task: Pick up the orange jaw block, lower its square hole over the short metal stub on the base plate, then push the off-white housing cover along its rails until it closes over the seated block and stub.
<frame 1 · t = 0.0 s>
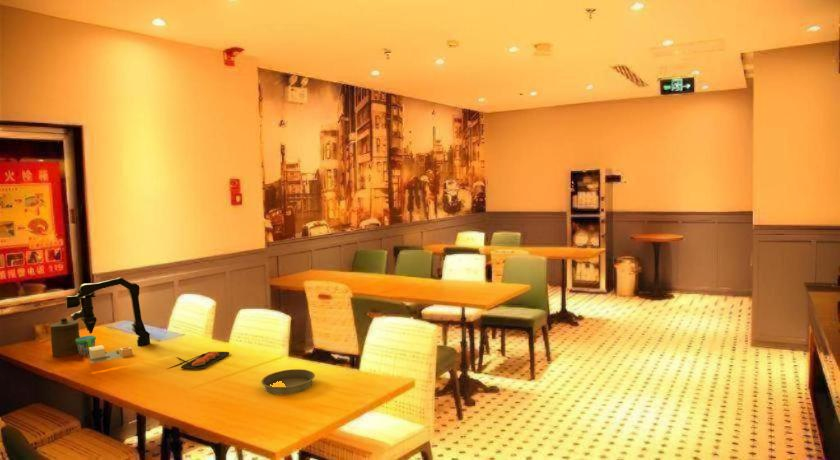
hand: (89, 331, 339), 15 cm above the table, tool pointing down, fingers open, 9 cm apart
jaw block: (126, 355, 336), point 1 cm above the table, touching base plate
base plate: (110, 357, 336), on the table
cake pan: (288, 387, 275), on the table
dark grey canister: (67, 353, 351), on the table
snack cup: (87, 354, 345), on the table
sushi plate: (193, 362, 321), on the table
housing cover: (97, 352, 335), point 4 cm above the table, slide at 0.0 cm
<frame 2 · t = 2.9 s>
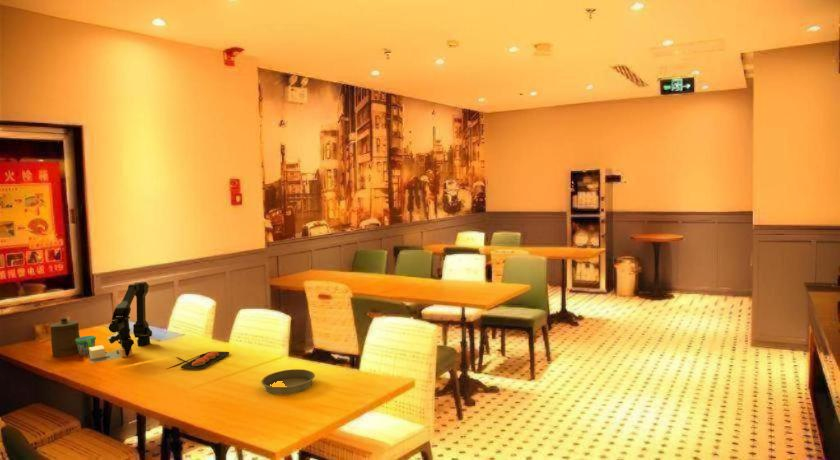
hand: (126, 354, 336), 2 cm above the table, tool pointing down, fingers closed on jaw block, 5 cm apart
jaw block: (126, 355, 336), point 1 cm above the table, touching base plate, gripper
everything else where it was.
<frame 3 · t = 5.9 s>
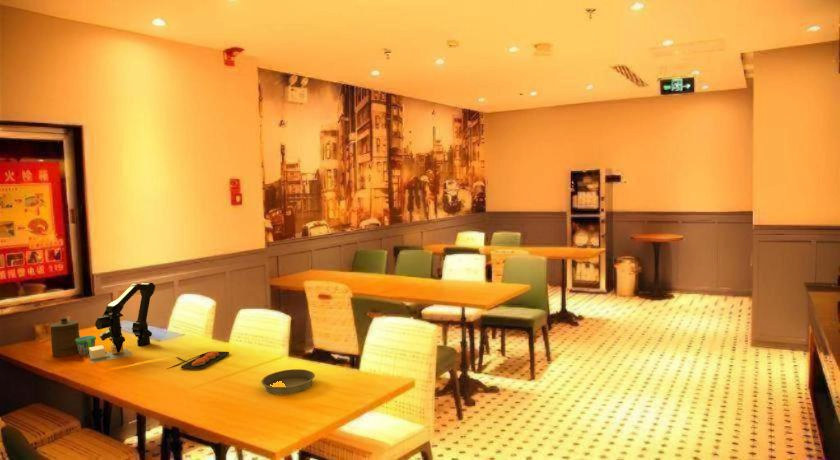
hand: (117, 351, 341), 2 cm above the table, tool pointing down, fingers closed on jaw block, 5 cm apart
jaw block: (117, 352, 341), point 2 cm above the table, touching gripper
everything else where it was.
when the fingers open (2 cm above the table, at t = 6.2 s): jaw block stays where it is, resting on base plate.
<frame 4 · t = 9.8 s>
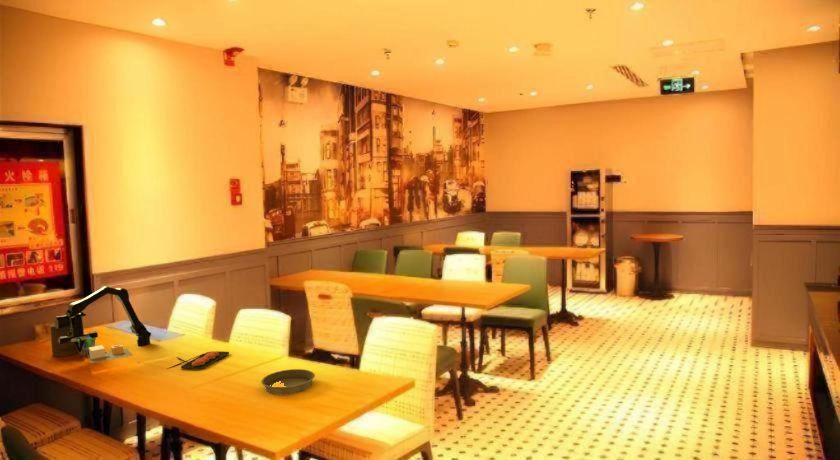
hand: (79, 352, 329), 6 cm above the table, tool pointing down, fingers closed
jaw block: (117, 352, 341), point 1 cm above the table, touching base plate
everything else where it was.
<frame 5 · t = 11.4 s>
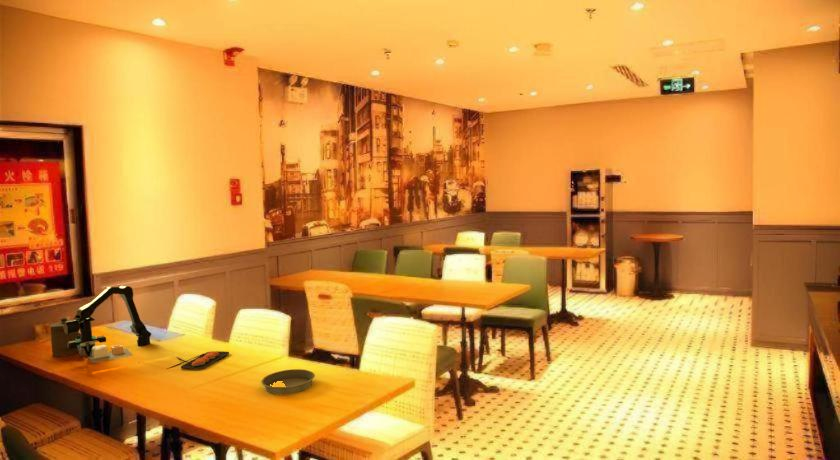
hand: (88, 356, 332), 2 cm above the table, tool pointing down, fingers closed
housing cover: (99, 351, 335), point 4 cm above the table, slide at 1.5 cm, touching gripper
everything else where it was.
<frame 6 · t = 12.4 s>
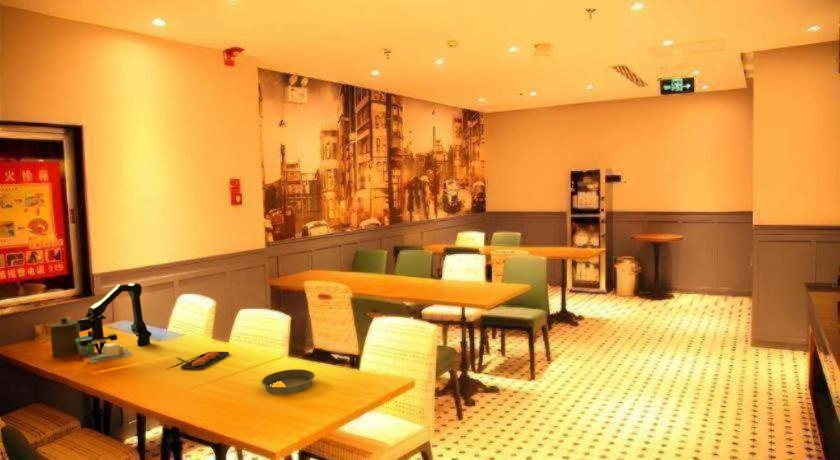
hand: (99, 354, 336), 2 cm above the table, tool pointing down, fingers closed
housing cover: (111, 349, 339), point 4 cm above the table, slide at 7.2 cm, touching gripper
everything else where it was.
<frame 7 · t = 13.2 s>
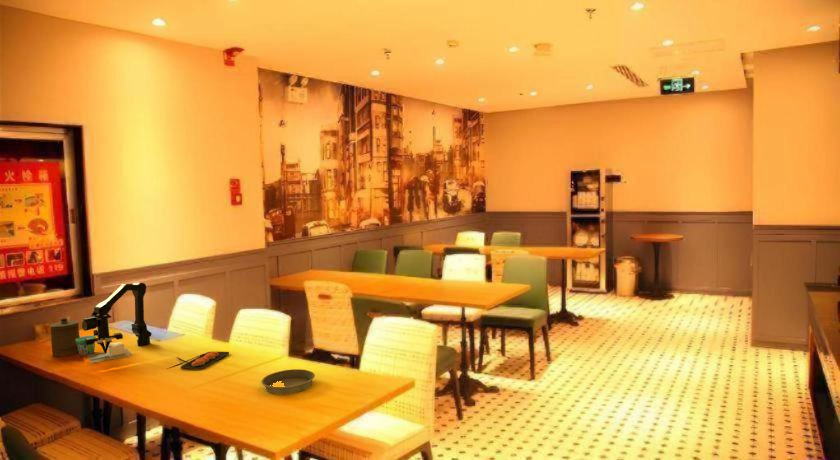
hand: (105, 353, 337), 2 cm above the table, tool pointing down, fingers closed
housing cover: (116, 348, 341), point 4 cm above the table, slide at 10.0 cm, touching gripper
everything else where it was.
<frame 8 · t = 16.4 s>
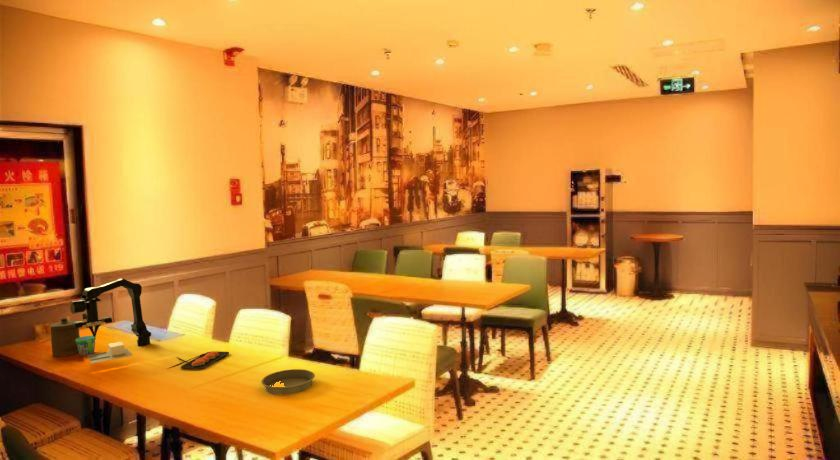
hand: (94, 336, 333), 13 cm above the table, tool pointing down, fingers closed
housing cover: (116, 348, 341), point 4 cm above the table, slide at 10.0 cm
everything else where it was.
at the end: jaw block 0.0 cm from the target spot, point 1.2 cm above the table; jaw block tilted 0°; housing cover slide at 10.0 cm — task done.
